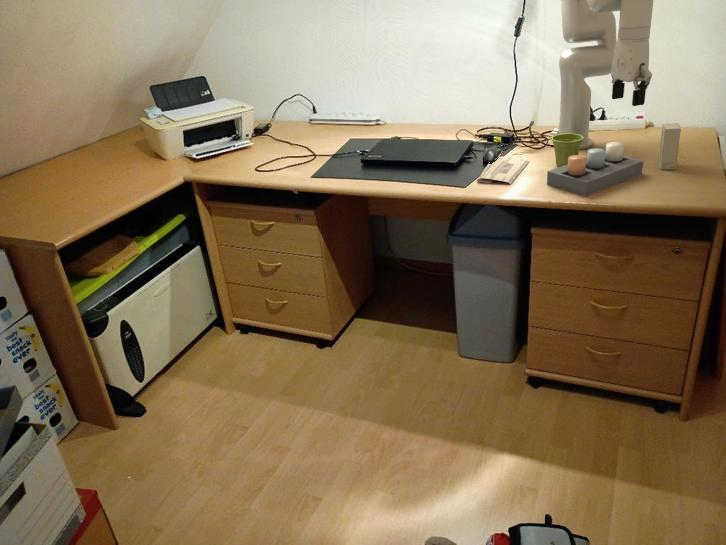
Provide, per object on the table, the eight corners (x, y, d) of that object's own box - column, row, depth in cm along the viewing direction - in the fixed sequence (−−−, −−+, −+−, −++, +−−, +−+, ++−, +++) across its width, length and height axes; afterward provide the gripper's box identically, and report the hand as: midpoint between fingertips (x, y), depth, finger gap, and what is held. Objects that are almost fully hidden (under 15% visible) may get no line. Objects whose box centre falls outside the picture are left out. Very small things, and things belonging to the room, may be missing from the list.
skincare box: (676, 169, 178) (682, 128, 172) (659, 169, 179) (664, 129, 174) (673, 163, 183) (679, 122, 177) (657, 163, 184) (662, 123, 179)
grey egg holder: (546, 184, 178) (547, 171, 176) (602, 164, 188) (603, 151, 187) (585, 196, 167) (586, 182, 165) (641, 174, 178) (643, 160, 176)
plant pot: (544, 164, 194) (545, 137, 190) (567, 157, 197) (569, 131, 193) (563, 171, 186) (565, 143, 182) (588, 164, 189) (590, 137, 185)
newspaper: (492, 161, 203) (493, 154, 202) (529, 167, 198) (530, 159, 197) (470, 184, 186) (470, 176, 185) (509, 191, 181) (510, 183, 180)
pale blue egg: (583, 165, 177) (584, 151, 175) (594, 161, 179) (595, 147, 177) (596, 169, 173) (597, 154, 171) (607, 165, 175) (609, 150, 173)
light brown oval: (563, 172, 173) (564, 158, 171) (575, 168, 175) (576, 154, 173) (577, 176, 170) (578, 161, 168) (589, 172, 172) (590, 157, 170)
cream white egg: (601, 159, 180) (602, 144, 178) (612, 155, 182) (613, 141, 180) (615, 162, 176) (616, 148, 174) (626, 158, 179) (627, 144, 177)
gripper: (602, 32, 163) (597, 97, 170) (639, 39, 147) (632, 110, 155) (628, 29, 163) (622, 94, 171) (668, 35, 148) (660, 106, 156)
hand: (627, 101), depth 163 cm, fingers open, 9 cm apart
